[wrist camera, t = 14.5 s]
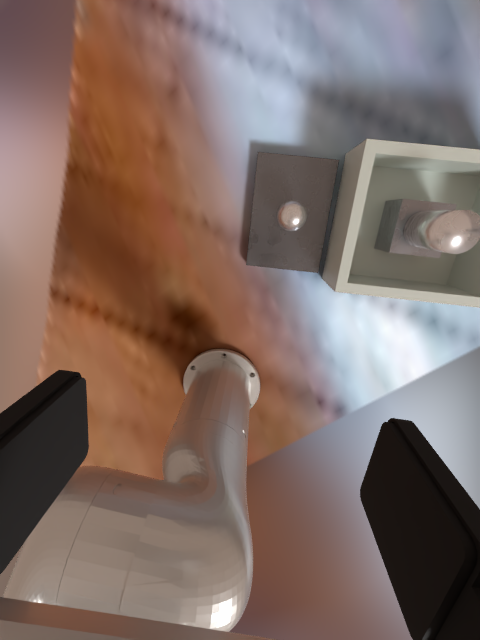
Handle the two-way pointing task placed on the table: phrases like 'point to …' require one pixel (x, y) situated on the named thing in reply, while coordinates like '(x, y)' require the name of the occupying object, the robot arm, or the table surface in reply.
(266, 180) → the stud base
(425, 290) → the bin
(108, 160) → the table surface
